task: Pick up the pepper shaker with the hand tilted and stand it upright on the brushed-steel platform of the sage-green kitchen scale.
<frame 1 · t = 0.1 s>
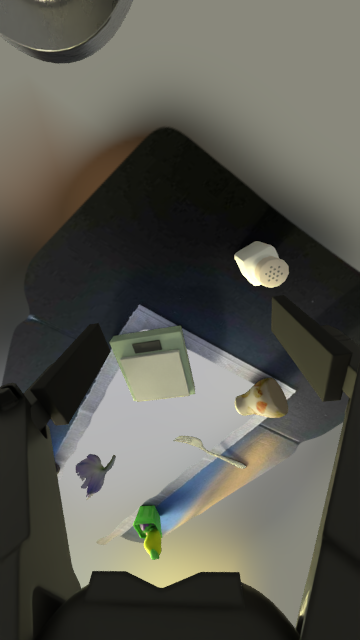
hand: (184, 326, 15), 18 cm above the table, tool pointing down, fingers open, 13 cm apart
fork: (212, 449, 53), on the table
flower: (100, 456, 56), on the table
scale: (156, 362, 40), on the table
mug: (254, 390, 43), on the table
fruit basket: (152, 510, 70), on the table
pepper shaker: (249, 258, 30), on the table
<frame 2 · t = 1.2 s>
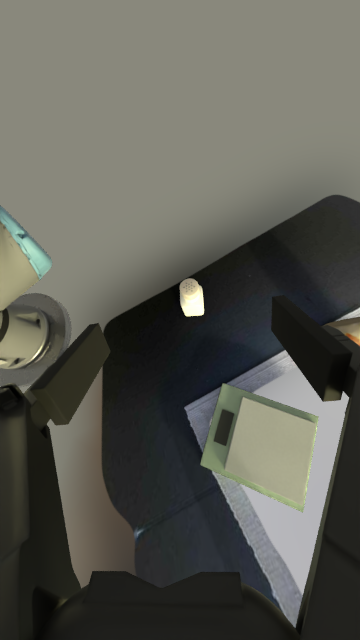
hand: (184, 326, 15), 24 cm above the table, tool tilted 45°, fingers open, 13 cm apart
scale: (255, 437, 33), on the table
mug: (345, 348, 35), on the table
pepper shaker: (194, 307, 41), on the table
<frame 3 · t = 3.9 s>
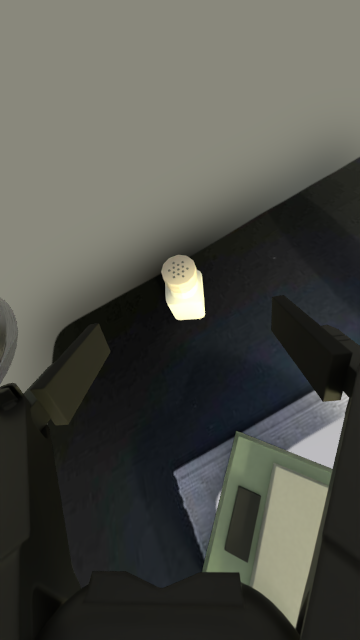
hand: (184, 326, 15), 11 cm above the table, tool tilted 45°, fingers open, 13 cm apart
scale: (298, 535, 19), on the table
pepper shaker: (189, 307, 27), on the table
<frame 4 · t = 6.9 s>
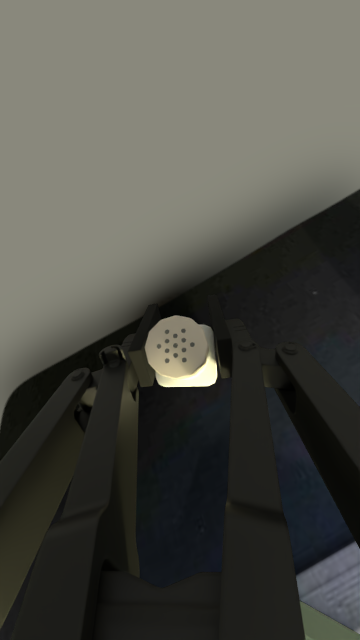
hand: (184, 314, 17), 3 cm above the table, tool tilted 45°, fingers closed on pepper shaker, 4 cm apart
pepper shaker: (193, 362, 19), on the table, touching gripper
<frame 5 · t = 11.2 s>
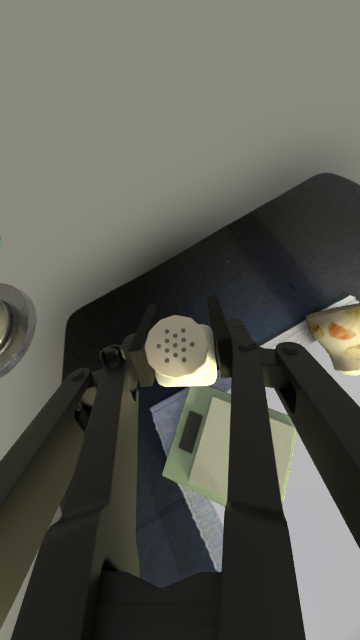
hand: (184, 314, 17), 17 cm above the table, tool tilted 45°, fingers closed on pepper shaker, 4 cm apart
scale: (228, 443, 29), on the table
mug: (332, 342, 31), on the table
pepper shaker: (193, 362, 19), point 14 cm above the table, touching gripper
when the fingers open (6 cm above the table, at t = 16.0 s): pepper shaker stays where it is, resting on scale.
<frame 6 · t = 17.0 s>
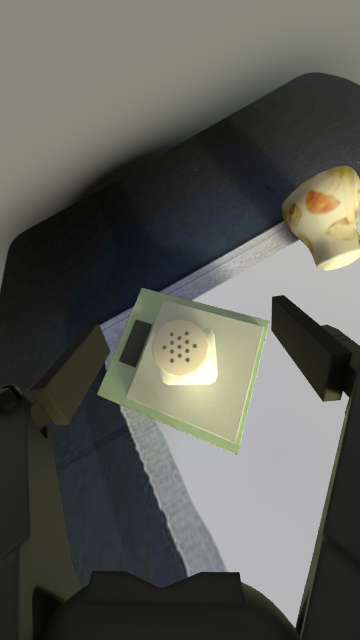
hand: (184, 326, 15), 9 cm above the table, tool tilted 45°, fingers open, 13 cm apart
scale: (184, 360, 23), on the table
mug: (315, 242, 25), on the table
pepper shaker: (195, 362, 20), point 3 cm above the table, touching scale
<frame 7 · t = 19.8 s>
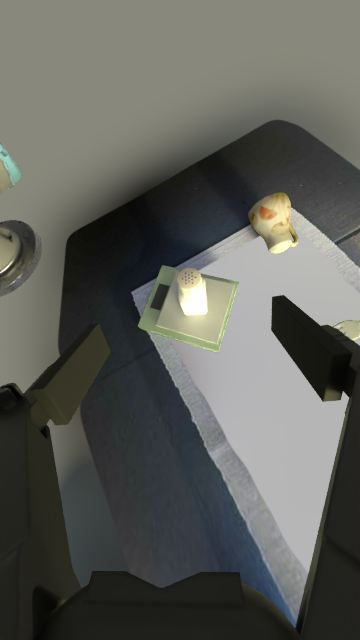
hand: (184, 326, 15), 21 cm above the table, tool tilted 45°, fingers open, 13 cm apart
scale: (189, 308, 38), on the table
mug: (271, 237, 40), on the table
pepper shaker: (195, 305, 35), point 3 cm above the table, touching scale
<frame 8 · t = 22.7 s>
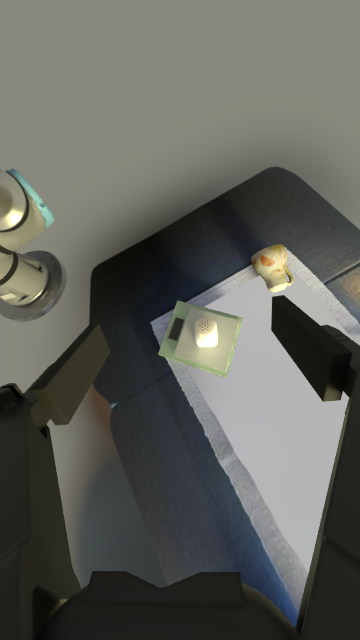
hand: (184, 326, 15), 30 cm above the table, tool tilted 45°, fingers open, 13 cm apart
scale: (200, 338, 45), on the table
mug: (270, 276, 47), on the table
pepper shaker: (206, 337, 42), point 3 cm above the table, touching scale
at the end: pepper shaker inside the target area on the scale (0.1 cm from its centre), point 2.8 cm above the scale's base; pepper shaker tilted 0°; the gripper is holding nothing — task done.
